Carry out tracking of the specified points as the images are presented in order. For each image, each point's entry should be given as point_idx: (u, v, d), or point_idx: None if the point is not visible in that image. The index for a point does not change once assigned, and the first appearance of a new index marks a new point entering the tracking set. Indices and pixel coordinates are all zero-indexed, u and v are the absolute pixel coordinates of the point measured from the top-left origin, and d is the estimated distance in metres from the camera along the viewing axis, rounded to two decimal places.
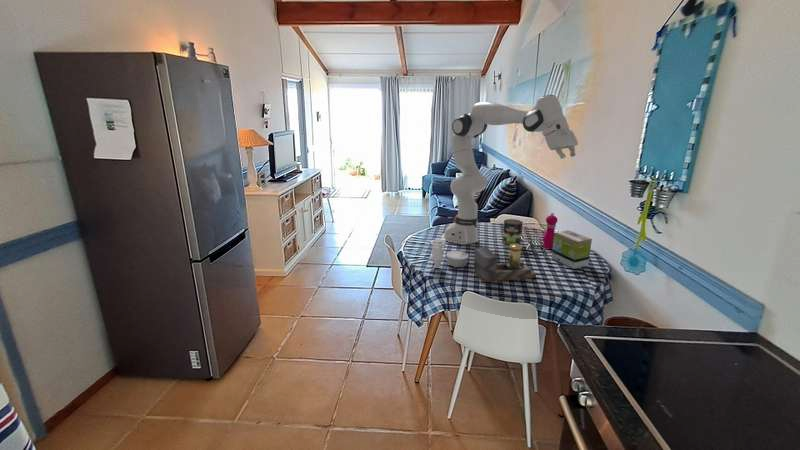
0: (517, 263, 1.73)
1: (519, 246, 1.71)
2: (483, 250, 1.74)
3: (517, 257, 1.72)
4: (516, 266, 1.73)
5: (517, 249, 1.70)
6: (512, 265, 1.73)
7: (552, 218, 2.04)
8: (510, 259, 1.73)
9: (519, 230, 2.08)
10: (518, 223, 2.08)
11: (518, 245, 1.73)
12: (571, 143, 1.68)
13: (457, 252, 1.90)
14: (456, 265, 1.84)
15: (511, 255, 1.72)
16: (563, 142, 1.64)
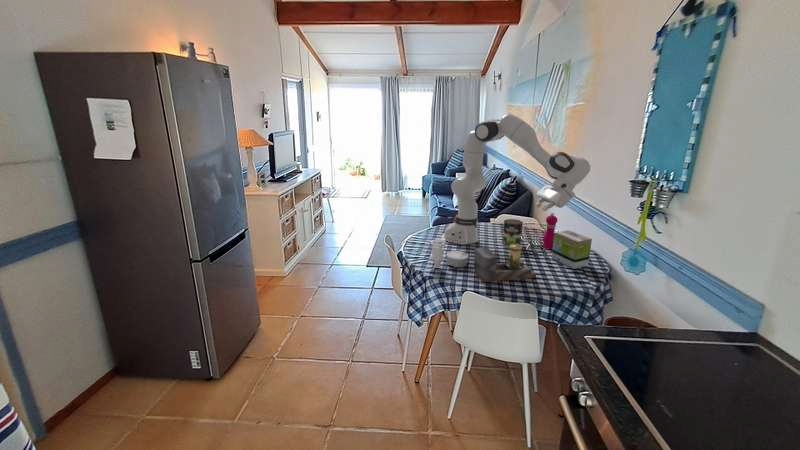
0: (517, 263, 1.73)
1: (519, 246, 1.71)
2: (483, 250, 1.74)
3: (517, 257, 1.72)
4: (516, 266, 1.73)
5: (517, 249, 1.70)
6: (512, 265, 1.73)
7: (552, 218, 2.04)
8: (510, 259, 1.73)
9: (519, 230, 2.08)
10: (518, 223, 2.08)
11: (518, 245, 1.73)
12: None
13: (457, 252, 1.91)
14: (456, 265, 1.84)
15: (511, 255, 1.72)
16: None
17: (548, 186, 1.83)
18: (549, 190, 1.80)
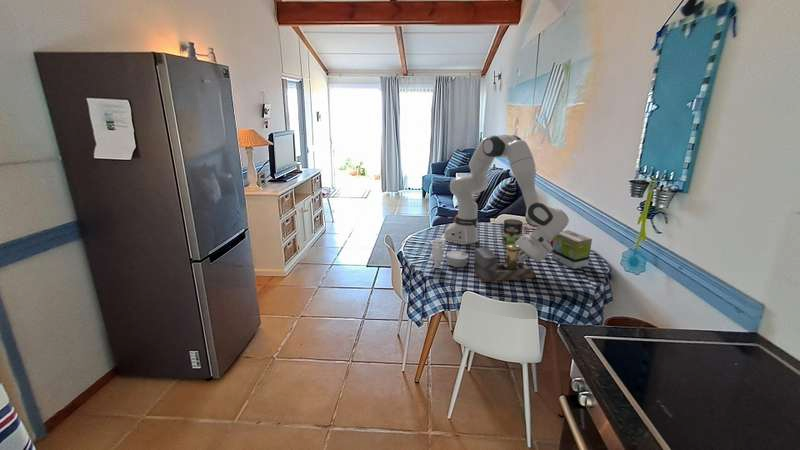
0: (514, 263, 1.72)
1: (516, 246, 1.71)
2: (483, 250, 1.74)
3: (514, 257, 1.71)
4: (513, 266, 1.73)
5: (514, 249, 1.70)
6: (509, 265, 1.73)
7: None
8: (507, 259, 1.73)
9: (519, 230, 2.08)
10: (518, 223, 2.08)
11: (515, 245, 1.73)
12: None
13: (457, 252, 1.91)
14: (456, 265, 1.84)
15: (508, 255, 1.72)
16: None
17: (526, 236, 1.79)
18: (527, 241, 1.76)
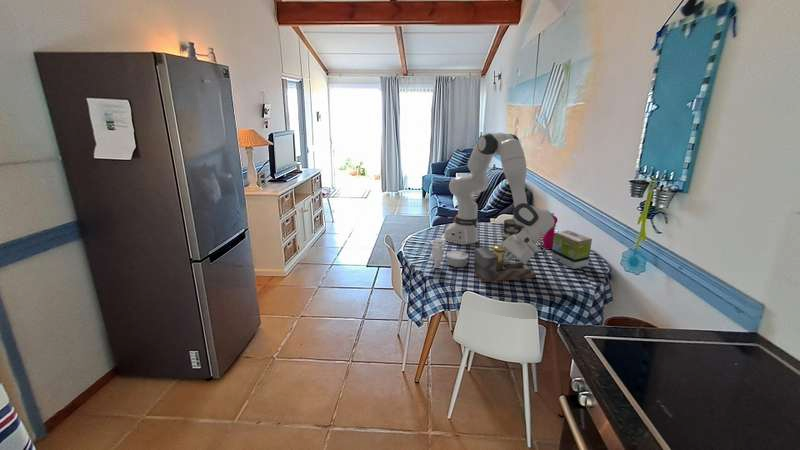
0: (500, 264, 1.71)
1: (503, 247, 1.70)
2: (483, 250, 1.74)
3: (500, 258, 1.71)
4: (499, 267, 1.72)
5: (500, 250, 1.69)
6: None
7: None
8: None
9: (519, 230, 2.08)
10: None
11: (501, 246, 1.72)
12: None
13: (457, 252, 1.91)
14: (456, 265, 1.84)
15: None
16: None
17: (513, 237, 1.78)
18: (514, 242, 1.75)
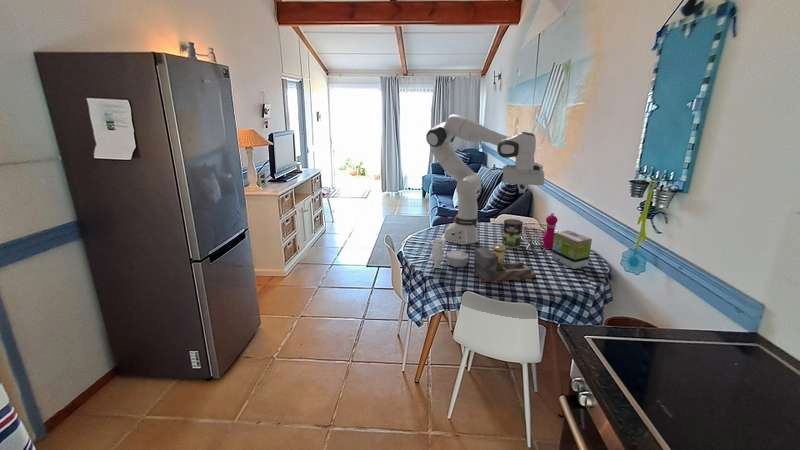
0: (501, 264, 1.71)
1: (503, 247, 1.70)
2: (483, 250, 1.74)
3: (500, 258, 1.71)
4: (500, 267, 1.72)
5: (500, 250, 1.69)
6: None
7: (552, 218, 2.04)
8: None
9: (519, 230, 2.08)
10: (518, 223, 2.08)
11: (502, 246, 1.72)
12: None
13: (457, 252, 1.90)
14: (456, 265, 1.84)
15: None
16: None
17: (511, 170, 1.87)
18: (517, 174, 1.87)
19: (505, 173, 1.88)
